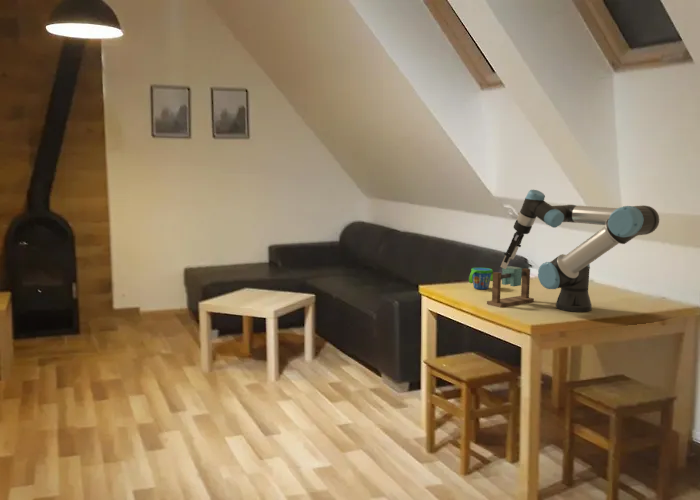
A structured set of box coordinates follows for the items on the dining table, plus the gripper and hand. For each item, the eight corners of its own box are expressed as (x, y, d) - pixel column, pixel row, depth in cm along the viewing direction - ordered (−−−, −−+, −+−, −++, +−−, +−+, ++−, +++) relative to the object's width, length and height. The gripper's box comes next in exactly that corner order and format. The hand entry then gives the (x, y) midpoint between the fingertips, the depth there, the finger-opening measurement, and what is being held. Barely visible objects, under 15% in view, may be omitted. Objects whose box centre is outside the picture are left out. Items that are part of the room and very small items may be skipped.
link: (509, 283, 337) (509, 266, 336) (520, 285, 331) (521, 268, 330) (501, 284, 334) (502, 267, 333) (513, 286, 328) (514, 268, 327)
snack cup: (486, 285, 378) (487, 266, 376) (499, 289, 369) (500, 269, 367) (462, 288, 370) (463, 268, 369) (475, 291, 361) (476, 271, 360)
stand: (520, 298, 344) (521, 267, 342) (533, 301, 337) (535, 269, 335) (486, 304, 330) (488, 271, 328) (500, 307, 324) (501, 274, 322)
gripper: (522, 212, 336) (506, 251, 346) (509, 227, 315) (492, 268, 325) (538, 218, 334) (520, 257, 344) (525, 234, 313) (507, 275, 323)
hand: (506, 263), depth 334 cm, fingers open, 13 cm apart
